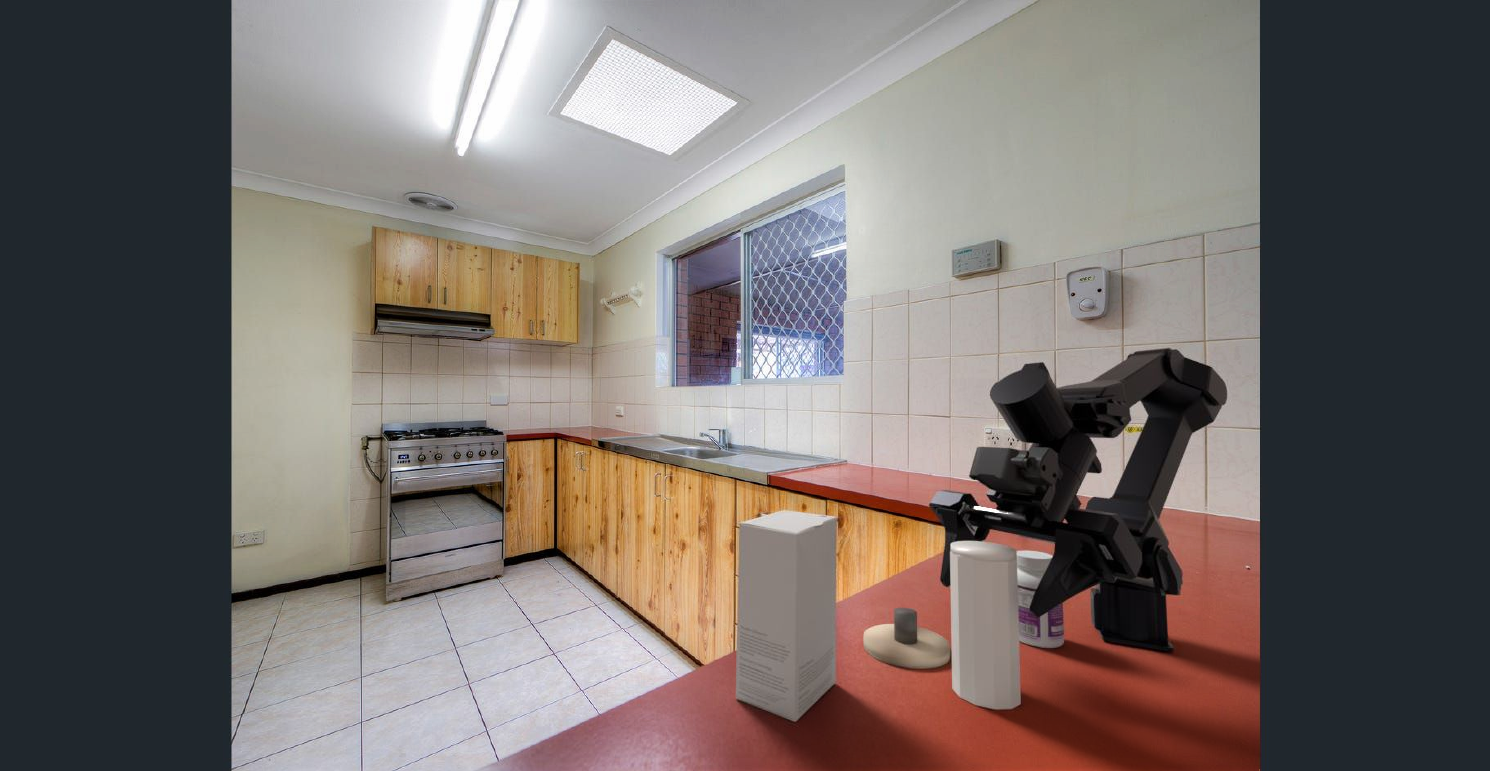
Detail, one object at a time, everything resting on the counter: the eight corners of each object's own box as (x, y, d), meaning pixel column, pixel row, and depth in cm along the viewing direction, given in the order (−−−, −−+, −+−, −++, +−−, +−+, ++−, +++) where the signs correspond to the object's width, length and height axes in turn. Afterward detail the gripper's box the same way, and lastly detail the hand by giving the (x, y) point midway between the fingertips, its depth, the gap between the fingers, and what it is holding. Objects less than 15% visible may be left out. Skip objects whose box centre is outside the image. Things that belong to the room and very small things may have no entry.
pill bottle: (1049, 631, 61) (1047, 549, 62) (1073, 650, 56) (1070, 560, 57) (1002, 629, 62) (1001, 547, 63) (1022, 648, 57) (1019, 558, 57)
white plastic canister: (1019, 685, 48) (1015, 544, 49) (1021, 715, 43) (1017, 557, 44) (955, 672, 51) (952, 538, 52) (950, 699, 46) (948, 550, 47)
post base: (953, 642, 58) (952, 605, 58) (946, 676, 50) (945, 633, 50) (873, 627, 62) (873, 593, 62) (854, 656, 54) (854, 617, 54)
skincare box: (781, 665, 52) (782, 508, 53) (841, 685, 48) (841, 515, 49) (731, 700, 45) (734, 519, 46) (797, 727, 41) (799, 529, 42)
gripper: (939, 419, 60) (868, 522, 53) (1120, 418, 44) (1049, 566, 37) (983, 485, 63) (921, 590, 57) (1167, 507, 47) (1109, 657, 40)
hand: (984, 597), depth 48 cm, fingers open, 9 cm apart
